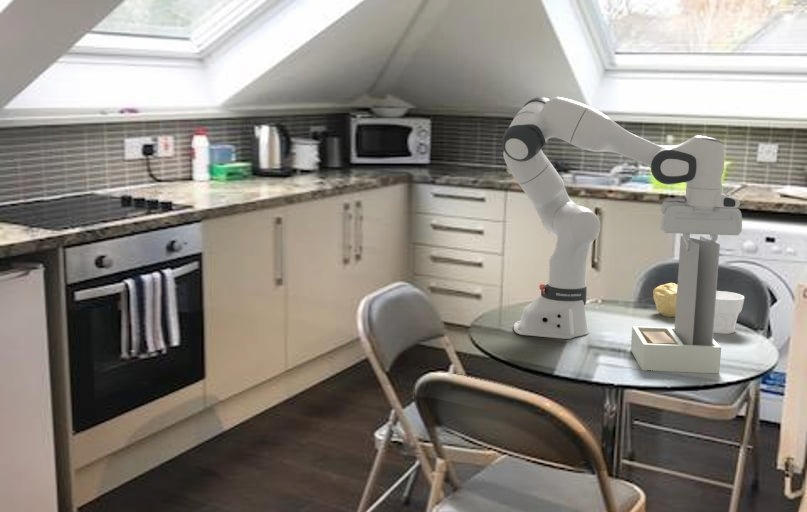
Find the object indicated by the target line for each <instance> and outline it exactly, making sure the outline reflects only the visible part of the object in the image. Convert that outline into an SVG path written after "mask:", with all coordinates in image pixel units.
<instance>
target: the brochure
mask: <svg viewBox="0 0 807 512" xmlns="http://www.w3.org/2000/svg"><path fill="white" fill-rule="evenodd" d="M688 240H689V242H690V248H689V251H687V250H686V242H685V240H684V238H683V235H680V240H679V242H680V243H679V253H678V254H679V257H678V270H677V271H678V273H677V300H676V315H675V317H674V318H675V320H674V328H675V330H674V333H675V334H676V336H677V337H678V338H679V339H680V341H681V342H682V343H683V345H702V346H712V344H713V339H714V333H713V331H714V317H715V304H716V291H718V289H717V288H718V276H719V274H718V273H719V262H720V261H719V260H720V249H721V248H720V247H721V244H720V243H718V242H717V241H716V242H714V241H711V239H709V238H708V237H705V236H702V235H699V239H698V238H695V237H694V238H693V237H690V238H688Z"/></svg>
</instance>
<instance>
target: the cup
mask: <svg viewBox="0 0 807 512" xmlns="http://www.w3.org/2000/svg"><path fill="white" fill-rule="evenodd" d="M744 302H745V295H742V294H740V293H736V292H731V291H725V290H724V291H721V290H716V304H715V317H714V331H713V334H714V333H715V334H723V335H726V334H727V335H728V334H730V335H731V334H734V333H735V331H736V324H737V320H738V318H739V314H740V313H741V312H742V310H743V306H744Z"/></svg>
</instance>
